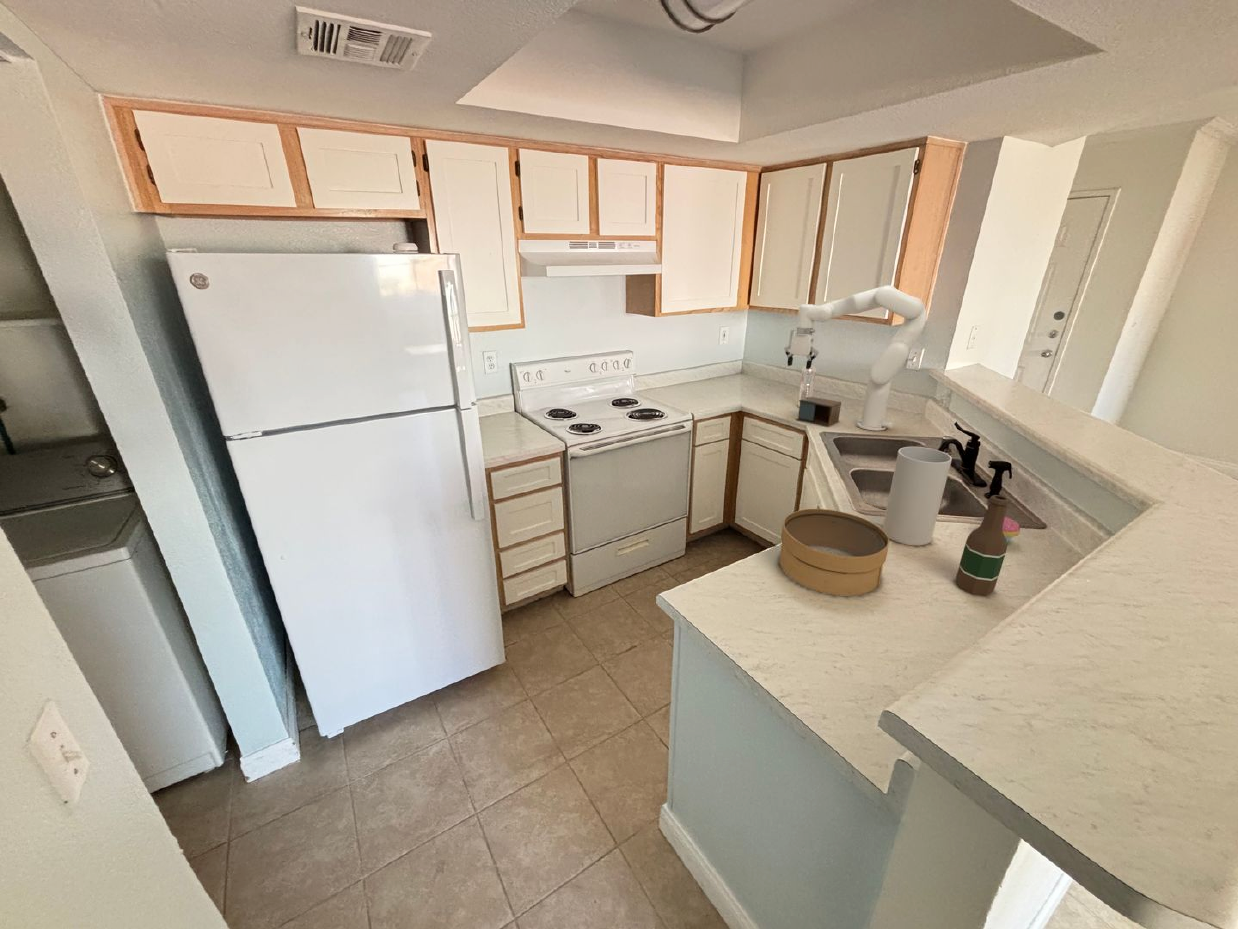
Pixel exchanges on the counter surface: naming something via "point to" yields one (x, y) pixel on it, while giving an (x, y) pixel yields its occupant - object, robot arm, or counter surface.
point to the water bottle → (807, 382)
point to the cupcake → (1010, 528)
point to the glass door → (806, 408)
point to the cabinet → (824, 411)
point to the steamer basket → (832, 569)
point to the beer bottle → (984, 551)
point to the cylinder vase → (916, 495)
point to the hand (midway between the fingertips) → (798, 367)
